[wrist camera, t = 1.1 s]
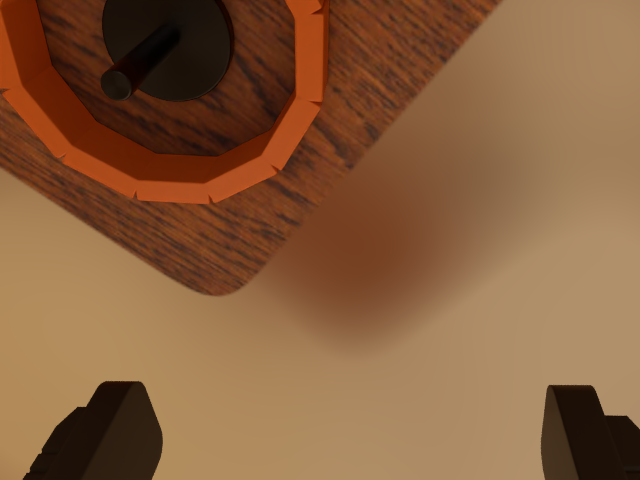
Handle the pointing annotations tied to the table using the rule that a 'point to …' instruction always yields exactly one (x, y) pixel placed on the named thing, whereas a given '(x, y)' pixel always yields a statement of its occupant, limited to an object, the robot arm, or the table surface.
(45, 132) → the hoop
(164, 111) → the table surface
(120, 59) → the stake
